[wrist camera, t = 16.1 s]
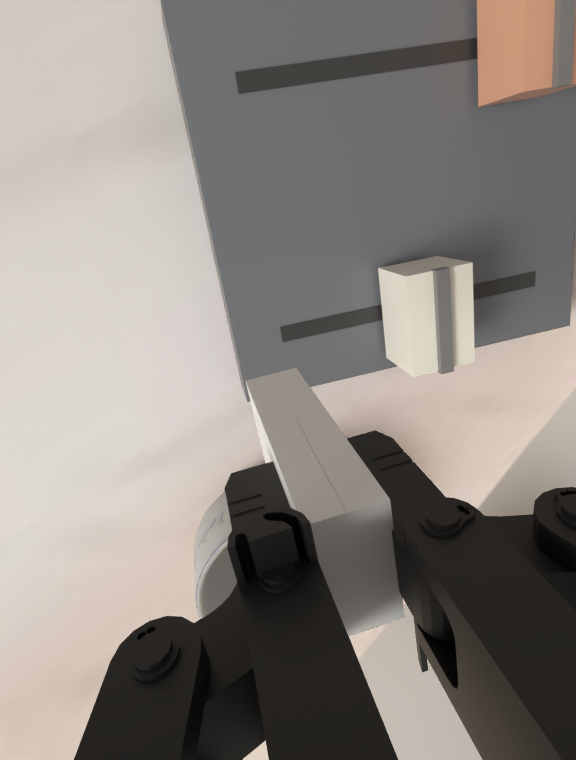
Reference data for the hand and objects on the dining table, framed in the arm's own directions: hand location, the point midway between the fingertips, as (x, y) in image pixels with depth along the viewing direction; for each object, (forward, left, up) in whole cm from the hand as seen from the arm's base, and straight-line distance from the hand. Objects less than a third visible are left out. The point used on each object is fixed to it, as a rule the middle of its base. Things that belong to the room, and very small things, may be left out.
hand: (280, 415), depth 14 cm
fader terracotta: (-12, +19, -16) cm, 27 cm away
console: (-5, +12, -20) cm, 23 cm away
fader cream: (+2, +12, -16) cm, 20 cm away
